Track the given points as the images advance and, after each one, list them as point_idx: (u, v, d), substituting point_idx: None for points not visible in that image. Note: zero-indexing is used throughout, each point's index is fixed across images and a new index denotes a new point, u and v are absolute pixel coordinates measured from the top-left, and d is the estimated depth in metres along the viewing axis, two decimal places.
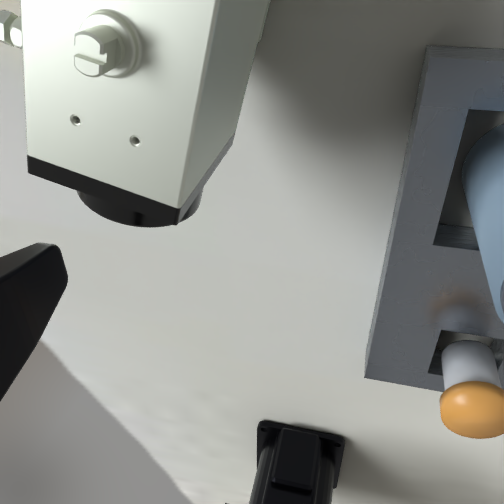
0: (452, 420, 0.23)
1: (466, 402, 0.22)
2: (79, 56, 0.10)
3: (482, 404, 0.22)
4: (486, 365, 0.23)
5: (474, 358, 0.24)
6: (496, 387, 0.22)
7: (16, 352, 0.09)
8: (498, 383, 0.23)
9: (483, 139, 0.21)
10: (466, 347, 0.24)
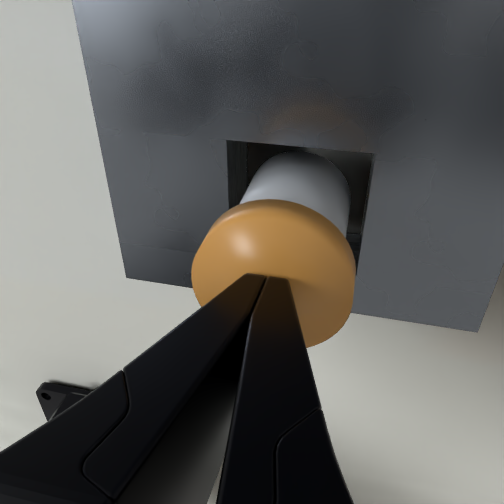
0: None
1: (233, 249, 0.09)
2: None
3: (269, 251, 0.09)
4: (310, 185, 0.10)
5: (288, 174, 0.11)
6: (306, 210, 0.09)
7: None
8: (329, 217, 0.10)
9: None
10: (281, 161, 0.11)
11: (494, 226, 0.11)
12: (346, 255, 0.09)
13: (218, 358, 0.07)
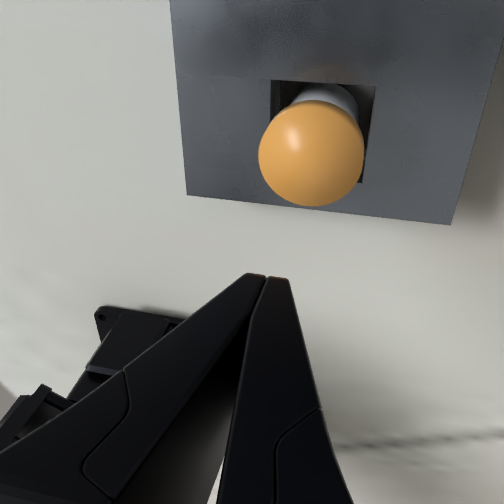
0: (277, 173, 0.15)
1: (288, 130, 0.14)
2: None
3: (310, 130, 0.14)
4: (333, 98, 0.16)
5: (318, 93, 0.16)
6: (333, 105, 0.14)
7: None
8: None
9: None
10: (313, 87, 0.17)
11: (459, 138, 0.15)
12: (358, 133, 0.14)
13: (218, 358, 0.07)
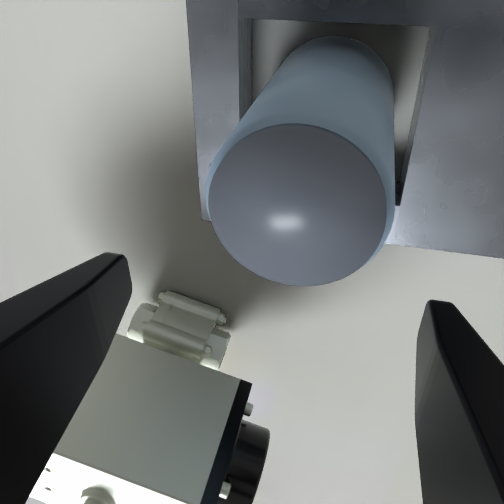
0: None
1: None
2: None
3: None
4: None
5: None
6: None
7: (89, 366, 0.09)
8: None
9: None
10: None
11: None
12: None
13: (35, 324, 0.07)
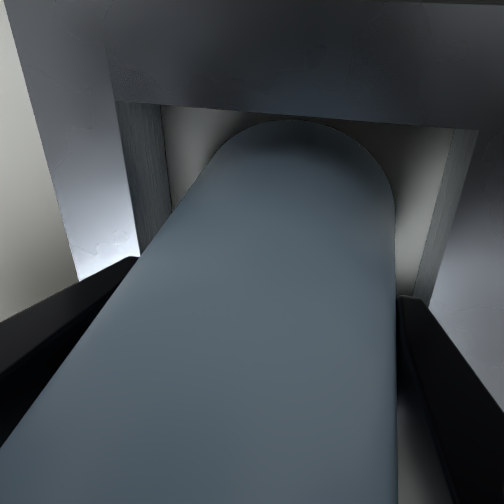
0: None
1: None
2: None
3: None
4: None
5: None
6: None
7: None
8: None
9: None
10: None
11: None
12: None
13: (65, 330, 0.07)
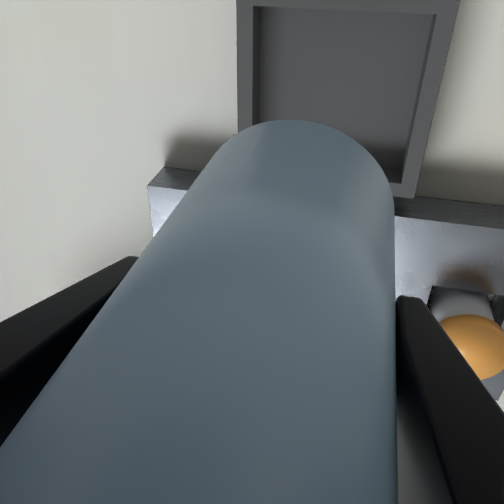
0: (475, 372, 0.21)
1: None
2: None
3: None
4: (436, 308, 0.22)
5: (432, 312, 0.23)
6: None
7: None
8: (448, 312, 0.21)
9: None
10: None
11: (485, 237, 0.20)
12: (455, 322, 0.20)
13: (65, 330, 0.07)
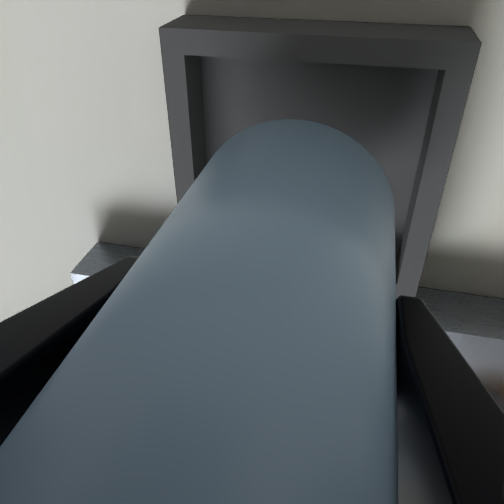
0: None
1: None
2: None
3: None
4: None
5: None
6: None
7: None
8: None
9: None
10: None
11: None
12: None
13: (65, 330, 0.07)
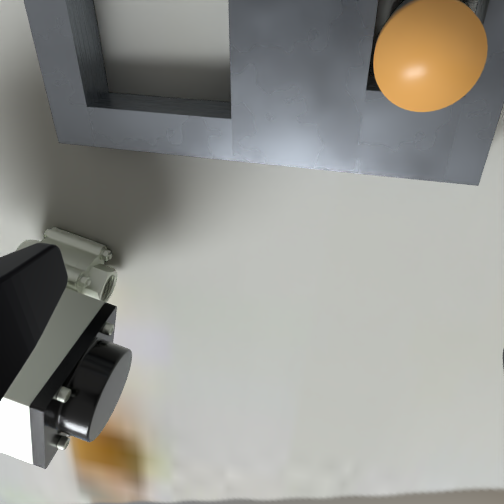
0: (440, 93, 0.15)
1: (393, 81, 0.15)
2: None
3: (395, 58, 0.14)
4: None
5: None
6: None
7: (17, 352, 0.09)
8: None
9: None
10: None
11: None
12: (408, 5, 0.14)
13: None
